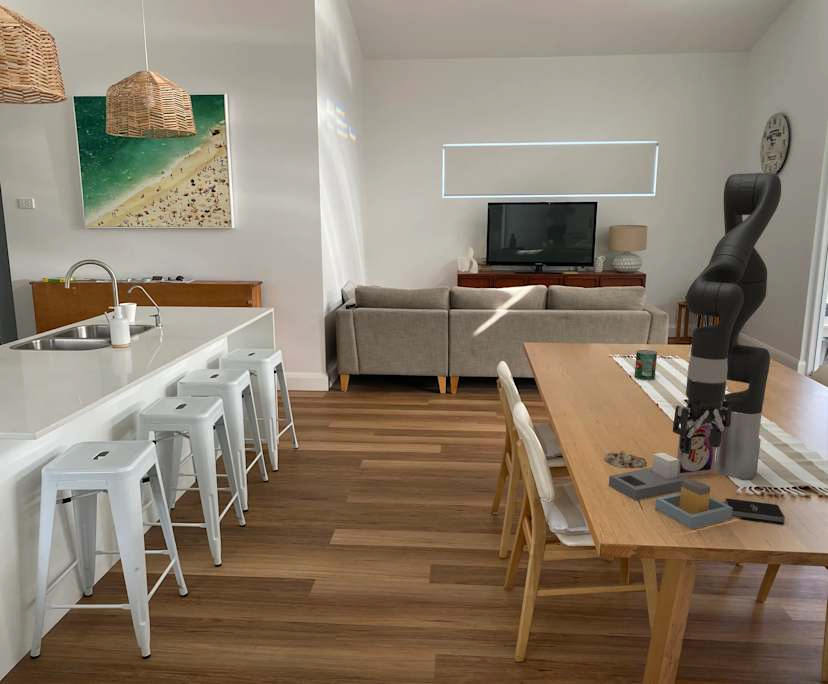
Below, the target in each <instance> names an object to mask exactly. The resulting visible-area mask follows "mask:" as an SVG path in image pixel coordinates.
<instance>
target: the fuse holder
mask: <svg viewBox="0 0 828 684" xmlns="http://www.w3.org/2000/svg"><path fill="white" fill-rule="evenodd" d="M652 467H653V466H652ZM652 467H646V468H642V469H637V470H631V471H627V472H622V473H621V472H620V473H617V474H611V475H609V478H608V486H609V487H611V488H612V489H614V490H615V491H617V492H619V493H621V494H622V495H625V496H627V497H629V498H630V499H632V500H634V501H639V500H644V499H650V498H654V497H657V496H658V497H659V496H663V495H668V494H673V493H677V492H681V484H682V480H686V479H687V478H686V477H685V476H680V475H678V474H677V478H674V479H669V480H667V479H665V478H663V477H661V476H659V475H657V474H655V473H653V472H652Z"/></svg>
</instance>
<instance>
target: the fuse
mask: <svg viewBox="0 0 828 684" xmlns="http://www.w3.org/2000/svg"><path fill="white" fill-rule="evenodd" d="M678 461H679V459H677V458H676V457H674V456H671V455H670V454H668V453H666V452H658V453H653V457H652V472H653V473H655V474H657V475H659V476H661V477H663V478H665V479H667V480H669V479H674V478H677V472H678Z"/></svg>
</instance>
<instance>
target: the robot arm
mask: <svg viewBox="0 0 828 684" xmlns="http://www.w3.org/2000/svg"><path fill="white" fill-rule="evenodd" d="M781 196H782V181H781V178H780V176H779V174H777V173H775V172H754V173H753V172H752V173H748V172H747V173H733V174H730V175H729V176H728V177H727V178H726V181H725V183H724V189H723V221H724V223H723V224H724V236H723V237H722V238H720V240H719V241H718V242H717V244H716V245H715V248H714V249H713V253H712V255H711V257H710V260H709V263H708V264H707V266H706V267H705V268H704V269H703V271H702V272H701V273H700V274H699V275H698V276H697V277H696V278H695V279H694V280H693V282H692V284H690V286H689V288H688V290H687V292H686V296H685V304H686V307H687V309H688V311H689V312H690V313H691V314H693V315H696V316H704V317H715V318H717V317H718V318H719V321H718V323H717V324H715V325H709V326H708V325H706V326H698V327H696V328H694V330H693V332H692V335H691V338H692V339H691V348H690V349H691V350H690V357H689V361H688V366H687V368H688V369H687V376H686V379H687V380H686V387H685V388H686V389H685V395H686V397H687V399H688V402H687V405H686V406H680V405H677V406H676V407H675V410H674V416H673V417H674V419H673V424H672V432H673V433H674V434H677V435H678V436H680V446H679V445H678V446H679V448H680V451H681V452H683V453H685V454H689V453H691V443H692V437H691V436H692V434H693V433H694V431H695V430H697V429H698V428H699V427H700V425H703V424H705V423H709V424H710V426H711V427H712V429H710V439H709V444H710V445H711V446H713V447H715V448H716V454H715V463H714V471H715V472H717V473H718V474H720V475H723V476H725V477H730V478H733V479H738V480H750V479H753V478H754V477H755V475H757V473H758V472H757V471H758V466H759V456H760V449H761V440H762V439H761V438H760V430H761V423H762V415H763V414H762V413H763V407H764V399H765V395H766V394H765V393H766V386H767V382H768V381H767V380H768V375H769V373H770V372H769V371H770V365H771V364H770V363H771V355H770V352H769V350H768V349H767V348H763V347H760V346H759V347H758V346H752V345H751V346H750V345H743V344H739V343H738V341H739V336H740V335H739V334H740V333H741V331H742V330H743V327H744V326H745V325H746V323H747V321H748V320H750V318H751V317H752V316H753V315H754V314H755V312H757V311H758V309H759V308H760V307H761V305H763V303H764V301H765V298H766V297H767V287H768V286H767V284H768V269H767V266H766V264H765V261H764V260H763V258H762V257H761V254H760V253H759V252H758V251H757V249H756V248H755V246H756V244H757V242H758V241H759V239H760V238H761V236H762V234H763V232H764V231H765V230H766V228H767V226H768V225H769V223H770V221H771V219H772V218H773V216H774V214H775V212H776V210H777V208H778V206H779V203H780V201H781ZM743 216H747V218H745V219H744V220H743ZM727 381H732V382H737V383H738V382H739V383H745V384H748V388H746V389H745V390H741V391H737V392H730V393H726V388H727ZM690 420H692V421H693V422H694V423H691V422H689V421H690ZM680 426H681V428H680ZM688 427H690V428H689V430H688V431H686V429H687V428H688Z"/></svg>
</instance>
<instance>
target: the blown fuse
mask: <svg viewBox="0 0 828 684" xmlns="http://www.w3.org/2000/svg"><path fill="white" fill-rule="evenodd" d="M680 493H681V494H680V504H679V508H680V509H682V510H684V511H686V512H687V513H689V514H691V515H692V514H696V513H701V512H705V511H708V505H709V496H710V497H711V486H709V485H707V484H706V483H703V482H701V481H699V480H697V479H694V478H686V480H682V484H681V491H680Z"/></svg>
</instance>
